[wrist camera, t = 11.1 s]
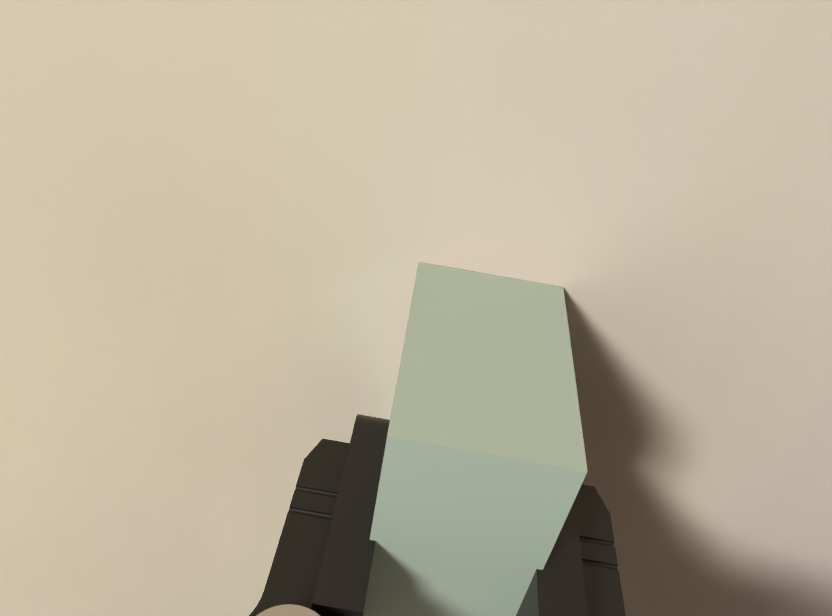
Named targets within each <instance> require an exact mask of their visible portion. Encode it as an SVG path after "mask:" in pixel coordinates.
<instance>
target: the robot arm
mask: <svg viewBox="0 0 832 616" xmlns="http://www.w3.org/2000/svg"><path fill="white" fill-rule="evenodd" d="M389 423H390V420H387V419H381V418H376V417H370V416H364V415H358V414H357V417H356V421H355V425H354V429H353V433H352V437H351V441H350V443H344V442H338V441H333V440H327V439H322V440H321V441H320V442H319V443H318V445H317V446H316V447H315V448H314V449H313V450H312V451H311V452H310V453H309V455H308V456H307V457H306V458H305V459H304V462H303V465H302V468H301V471H300V475H299V478H298V481H297V485H296V489H295V491H294V494H293V498H292V501H291V504H290V509H289V512H288V514H287V517H286V521H285V524H284V527H283V530H282V534H281V537H280V540H279V544H278V547H277V550H276V553H275V557H274V560H273V563H272V566H271V570H270V573H269V576H268V580H267V583H266V586H265V589H264V592H263V595H262V597H261V600H260V601H259V603H258V605H257V607H256V608H255V609H254V610H253V612H252V613H251V614H250V615H249V616H363V612H364V606H365V600H366V594H367V589H368V583H369V577H370V571H371V566H372V560H373V554H374V548H375V542H376V541H374V540H370V534H371V528H372V522H373V516H374V510H375V504H376V499H377V493H378V487H379V481H380V475H381V469H382V463H383V457H384V451H385V446H386V440H387V434H388V428H389ZM613 544H614V538H613V531H612V525H611V518H610V513H609V511H608V510H607V508H606V506H605V504H604V503H603V501H602V499H601V497H600V496H599V494H598V492H597V490H596V489H595V487H592V486H587V485H581V487H580V489H579V492H578V494H577V496H576V498H575V500H574V503H573V505H572V507H571V509H570V511H569V514H568V516H567V518H566V520H565V522H564V525H563V527H562V529H561V531H560V533H559V536H558V538H557V540H556V542H555V544H554V547H553V549H552V551H551V553H550V555H549V558H548V560H547V562H546V564H545V566H544V569H543V570H540V569H536V572H535V574H534V576H533V578H532V581H531V583H530V585H529V587H528V590H527V592H526V594H525V596H524V599H523V601H522V603H521V605H520V608H519V610H518V612H517V614H516V616H625V610H624V603H623V597H622V590H621V583H620V577H619V571H618V570H617V565H618V564H617V557H616V551H615V547H614V546H613Z"/></svg>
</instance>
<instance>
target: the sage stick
mask: <svg viewBox="0 0 832 616" xmlns="http://www.w3.org/2000/svg"><path fill="white" fill-rule="evenodd" d="M587 472H588V470H587V463H586V455H585V447H584V440H583V432H582V425H581V417H580V410H579V402H578V395H577V387H576V379H575V372H574V364H573V357H572V349H571V342H570V334H569V327H568V319H567V311H566V304H565V296H564V289H563V287H557V286H552V285H546V284H540V283H534V282H529V281H523V280H517V279H512V278H506V277H500V276H495V275H489V274H483V273H478V272H472V271H466V270H461V269H455V268H449V267H443V266H438V265H432V264H426V263H421V262H419V264H418V270H417V275H416V281H415V286H414V292H413V297H412V303H411V308H410V314H409V319H408V325H407V330H406V335H405V341H404V346H403V352H402V357H401V363H400V368H399V374H398V379H397V385H396V390H395V396H394V401H393V407H392V412H391V418H390V423H389V428H388V434H387V440H386V446H385V451H384V457H383V463H382V469H381V475H380V481H379V487H378V493H377V499H376V504H375V510H374V516H373V522H372V528H371V534H370V540H374V541H376V542H375V548H374V554H373V560H372V566H371V571H370V577H369V583H368V589H367V594H366V600H365V606H364V612H363V616H516V614H517V612H518V610H519V608H520V605H521V603H522V601H523V599H524V596H525V594H526V592H527V590H528V587H529V585H530V583H531V581H532V578H533V576H534V574H535V572H536V569H540V570H543V569H544V566H545V564H546V562H547V560H548V558H549V555H550V553H551V551H552V549H553V547H554V544H555V542H556V540H557V538H558V536H559V533H560V531H561V529H562V527H563V525H564V522H565V520H566V518H567V516H568V514H569V511H570V509H571V507H572V505H573V503H574V500H575V498H576V496H577V494H578V492H579V489H580V487H581V485H582V483H583V481H584V478H585V476H586V474H587Z"/></svg>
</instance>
